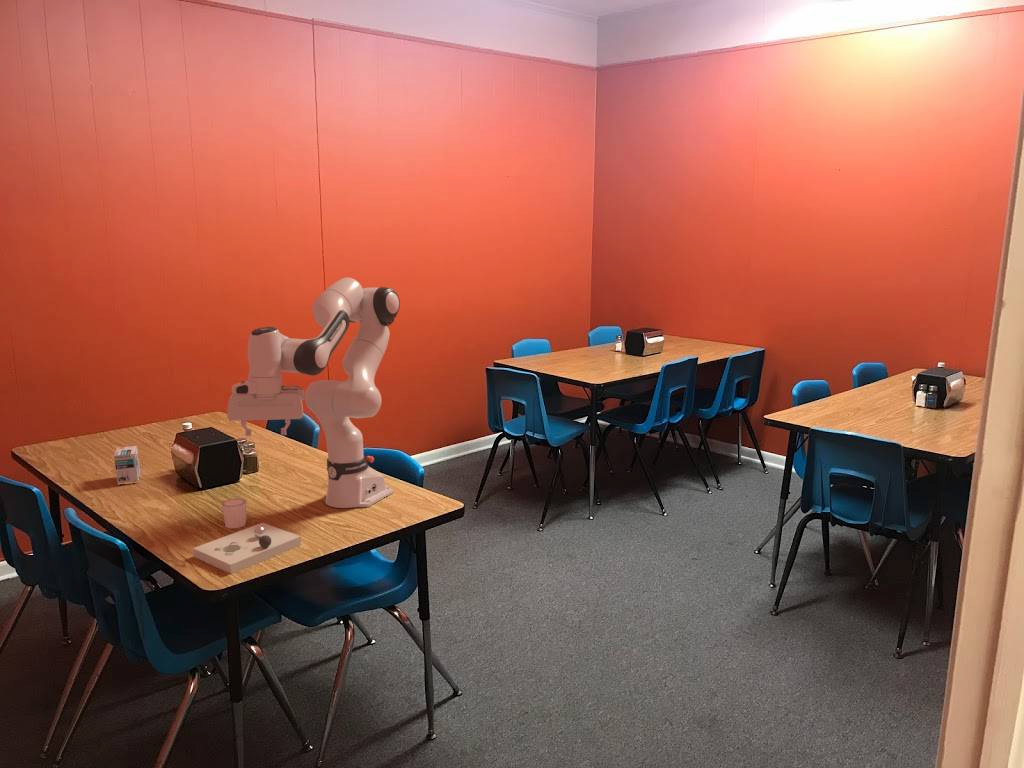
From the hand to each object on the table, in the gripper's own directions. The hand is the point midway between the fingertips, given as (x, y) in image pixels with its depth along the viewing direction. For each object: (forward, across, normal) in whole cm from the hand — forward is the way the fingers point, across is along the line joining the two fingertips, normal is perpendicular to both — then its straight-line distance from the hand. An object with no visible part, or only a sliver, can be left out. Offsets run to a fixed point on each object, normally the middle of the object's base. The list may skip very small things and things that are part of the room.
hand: (266, 435), depth 216 cm
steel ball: (+26, +2, +6) cm, 27 cm away
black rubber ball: (+26, 0, +13) cm, 29 cm away
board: (+30, +5, +8) cm, 32 cm away
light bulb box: (+27, +48, -65) cm, 85 cm away
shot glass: (+29, +9, -13) cm, 33 cm away
